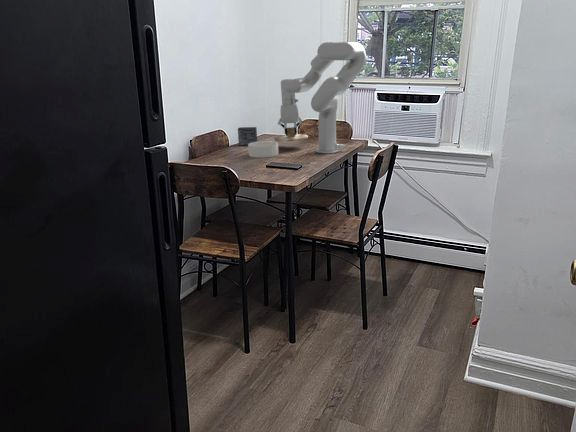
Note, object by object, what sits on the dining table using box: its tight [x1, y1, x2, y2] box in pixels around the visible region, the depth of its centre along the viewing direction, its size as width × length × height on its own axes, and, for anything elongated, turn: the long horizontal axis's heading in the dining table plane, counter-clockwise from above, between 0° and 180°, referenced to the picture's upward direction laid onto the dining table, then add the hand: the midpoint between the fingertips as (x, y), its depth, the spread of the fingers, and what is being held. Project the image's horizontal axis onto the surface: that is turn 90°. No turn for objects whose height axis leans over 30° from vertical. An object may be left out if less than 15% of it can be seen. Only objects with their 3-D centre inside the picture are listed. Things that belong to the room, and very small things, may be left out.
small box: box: [237, 126, 258, 147], centre depth 306 cm, size 11×6×10 cm, turn 84°
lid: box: [273, 126, 309, 142], centre depth 289 cm, size 19×19×6 cm
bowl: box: [247, 140, 279, 159], centre depth 276 cm, size 16×16×6 cm
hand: (290, 134), depth 289 cm, fingers closed on lid, 4 cm apart
